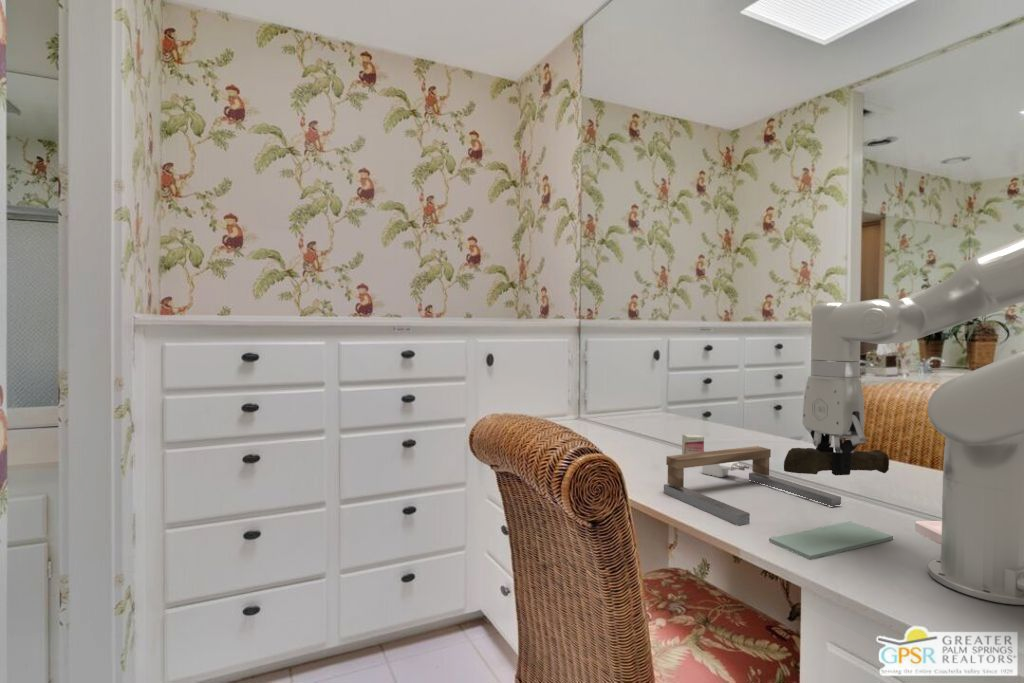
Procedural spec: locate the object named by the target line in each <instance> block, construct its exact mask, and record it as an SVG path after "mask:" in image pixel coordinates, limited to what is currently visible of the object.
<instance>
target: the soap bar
mask: <svg viewBox="0 0 1024 683" xmlns="http://www.w3.org/2000/svg"><path fill="white" fill-rule="evenodd" d="M914 526H915V527H914V531H916V533H917V532H918V533H917V534H919V533H920V535H921V534H922V535H921V536H923V535H924V536H923V537H925V536H926V537H925V538H927V537H928V539H929V538H930V540H931V541H934V542H935V543H937V544H940V545H941V537H942V520H934V521H933V520H917V521H915V523H914Z"/></svg>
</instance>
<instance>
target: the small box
mask: <svg viewBox="0 0 1024 683" xmlns="http://www.w3.org/2000/svg"><path fill="white" fill-rule="evenodd" d="M681 439H682V441H681V443H682V444H681V455H682V454H691V453H700V452H705V437H704V436H702V435H700V434H698V433H697V434H695V433H693V434H691V433H687V434H686V433H685V434H684V433H683V434H682V437H681Z"/></svg>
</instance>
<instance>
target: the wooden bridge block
mask: <svg viewBox="0 0 1024 683" xmlns="http://www.w3.org/2000/svg"><path fill="white" fill-rule="evenodd" d="M771 450H772V449H771V448H767V447H763V446H758V445H756V446H755V445H754V446H747V447H746V446H745V447H735V448H728V449H727V448H726V449H720V450H719V449H718V450H709V452H708V451H704V452H700V453H691V454H682V453H681V454H675V455H667V456H666V465H667V484H671V485H673V486H676V487H678V488H683V487H685V486H684V480H685V478H684V475H685V474H684V473H685V471H684V470H685V469H687V468H697V467H702V466H705V465H713V464H721V463H729V462H744V461H751V460H752V467H751V468H752V472H755V473H759V474H762V475H765V476H766V475H770V458H771V457H772V456H771V455H772V454H771ZM752 472H751V473H752Z"/></svg>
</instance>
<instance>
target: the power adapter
mask: <svg viewBox="0 0 1024 683" xmlns="http://www.w3.org/2000/svg"><path fill="white" fill-rule="evenodd" d="M709 451H710V450H709ZM709 451H707V452H709ZM701 467H702V468H701V469H702V473H703V474H705V475H707V476H711V475H712V477H716V478H724V477H727V476H729V475H728V474H729V471H735V470H739V471H745V469H746V470H747V469H748V470H749V468H750V466H748V465H746V464H745V465H744V464H740V461H737V462H729V463H721V464H713V465H705V466H701Z"/></svg>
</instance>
